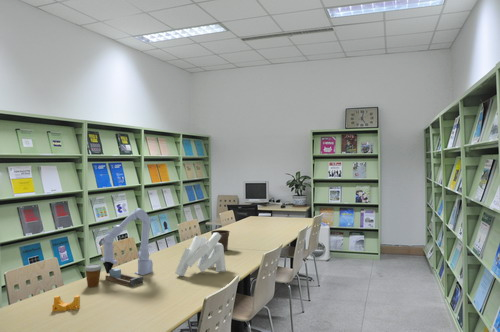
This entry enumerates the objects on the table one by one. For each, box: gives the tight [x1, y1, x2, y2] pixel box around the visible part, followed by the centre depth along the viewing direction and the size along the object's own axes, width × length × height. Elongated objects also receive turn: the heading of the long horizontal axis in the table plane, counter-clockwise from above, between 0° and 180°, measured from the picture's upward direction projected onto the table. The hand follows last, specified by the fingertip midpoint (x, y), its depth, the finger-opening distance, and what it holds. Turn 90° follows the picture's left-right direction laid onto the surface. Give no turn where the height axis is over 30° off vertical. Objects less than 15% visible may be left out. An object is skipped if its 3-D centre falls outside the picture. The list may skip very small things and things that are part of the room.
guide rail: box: [104, 273, 144, 287], centre depth 242 cm, size 9×25×4 cm, turn 57°
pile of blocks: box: [174, 232, 227, 277], centre depth 263 cm, size 35×30×35 cm
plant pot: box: [210, 229, 231, 252], centre depth 330 cm, size 16×16×16 cm
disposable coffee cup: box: [84, 263, 102, 288], centre depth 234 cm, size 10×10×12 cm
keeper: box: [109, 268, 122, 279], centre depth 247 cm, size 5×5×6 cm
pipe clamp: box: [52, 294, 81, 312], centre depth 196 cm, size 12×4×6 cm, turn 94°
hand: (108, 273), depth 251 cm, fingers closed
